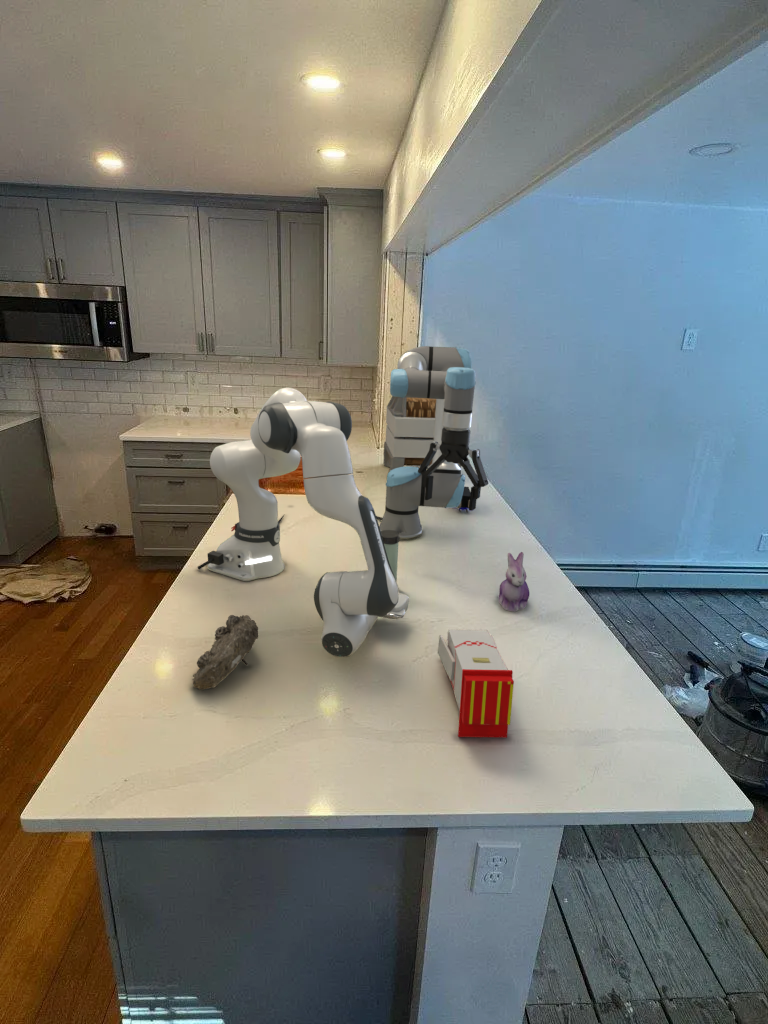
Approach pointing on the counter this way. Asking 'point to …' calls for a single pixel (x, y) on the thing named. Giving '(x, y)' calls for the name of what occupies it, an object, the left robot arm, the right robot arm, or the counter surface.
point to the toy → (478, 682)
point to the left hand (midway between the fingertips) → (376, 586)
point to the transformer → (409, 431)
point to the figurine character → (465, 500)
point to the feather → (281, 519)
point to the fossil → (226, 651)
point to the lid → (390, 536)
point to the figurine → (514, 585)
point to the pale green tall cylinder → (392, 556)
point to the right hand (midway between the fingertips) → (449, 504)
